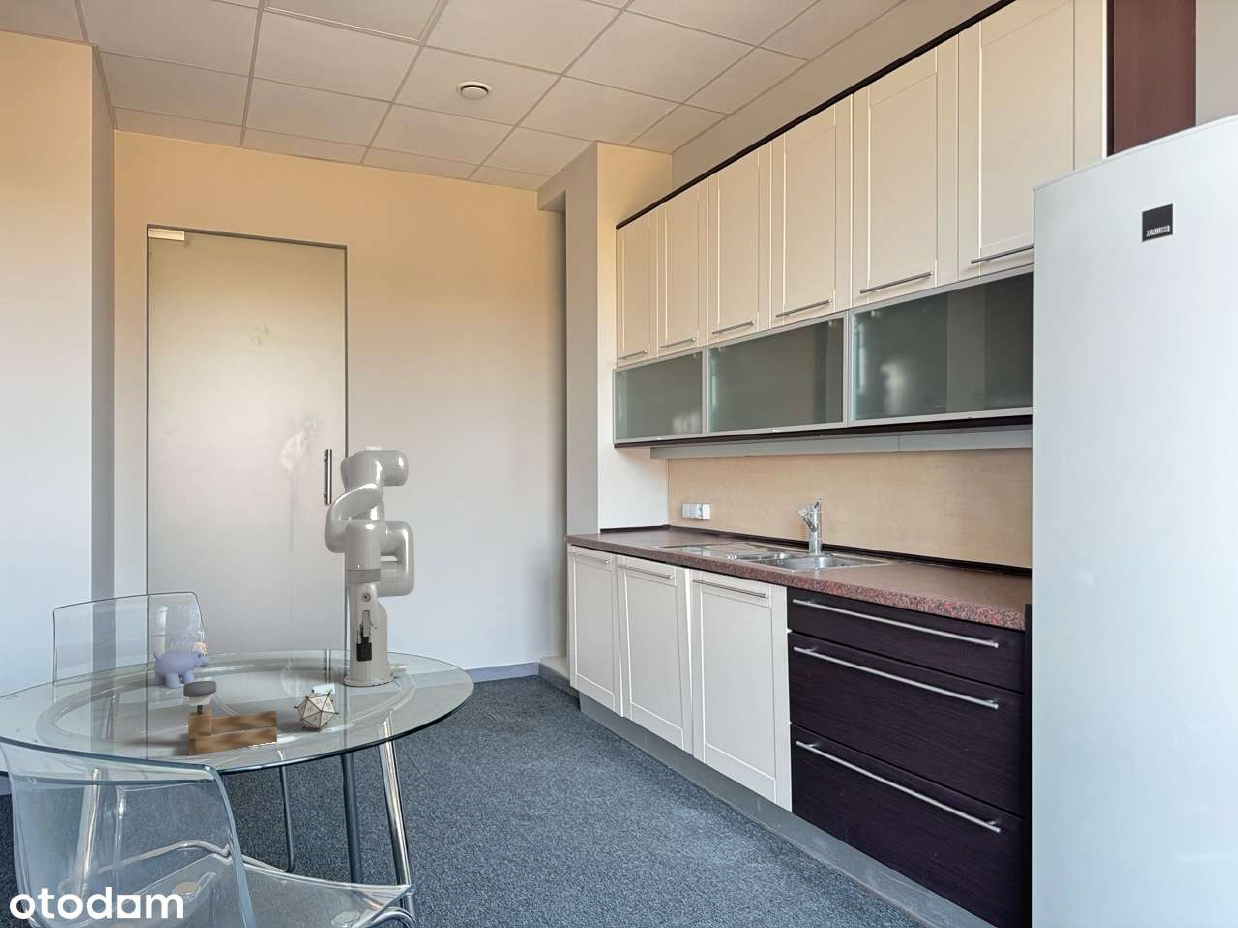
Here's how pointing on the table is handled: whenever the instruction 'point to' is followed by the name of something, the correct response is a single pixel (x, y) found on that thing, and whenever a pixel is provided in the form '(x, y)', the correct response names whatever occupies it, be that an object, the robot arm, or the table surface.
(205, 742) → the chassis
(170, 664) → the hippopotamus toy
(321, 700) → the game die
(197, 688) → the wheel
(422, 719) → the table surface
